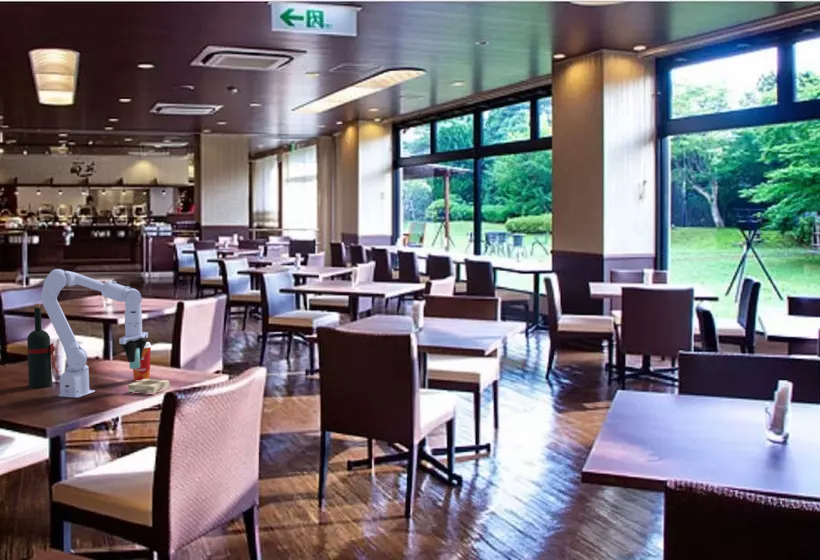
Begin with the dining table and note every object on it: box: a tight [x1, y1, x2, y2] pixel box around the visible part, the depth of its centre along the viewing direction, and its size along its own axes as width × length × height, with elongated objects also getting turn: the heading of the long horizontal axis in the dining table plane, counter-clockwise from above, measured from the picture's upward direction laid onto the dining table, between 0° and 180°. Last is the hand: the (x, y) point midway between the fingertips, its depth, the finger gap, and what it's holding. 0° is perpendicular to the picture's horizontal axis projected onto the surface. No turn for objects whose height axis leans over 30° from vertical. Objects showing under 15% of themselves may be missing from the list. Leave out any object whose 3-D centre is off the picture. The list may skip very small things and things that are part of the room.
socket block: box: [127, 378, 171, 393], centre depth 280 cm, size 10×10×3 cm
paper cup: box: [132, 341, 152, 381], centre depth 297 cm, size 8×8×14 cm
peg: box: [129, 348, 140, 370], centre depth 281 cm, size 4×4×7 cm
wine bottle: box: [26, 303, 60, 389], centre depth 286 cm, size 8×10×30 cm
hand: (134, 360), depth 281 cm, fingers closed on peg, 3 cm apart
